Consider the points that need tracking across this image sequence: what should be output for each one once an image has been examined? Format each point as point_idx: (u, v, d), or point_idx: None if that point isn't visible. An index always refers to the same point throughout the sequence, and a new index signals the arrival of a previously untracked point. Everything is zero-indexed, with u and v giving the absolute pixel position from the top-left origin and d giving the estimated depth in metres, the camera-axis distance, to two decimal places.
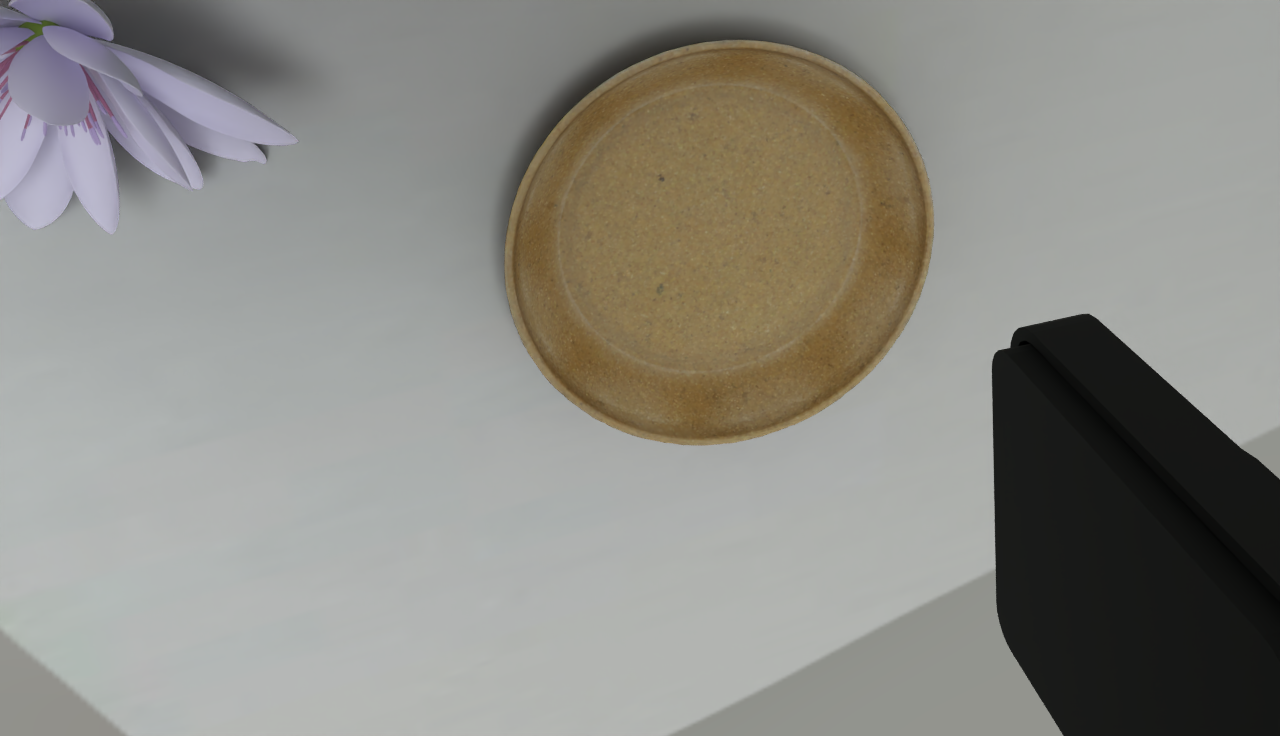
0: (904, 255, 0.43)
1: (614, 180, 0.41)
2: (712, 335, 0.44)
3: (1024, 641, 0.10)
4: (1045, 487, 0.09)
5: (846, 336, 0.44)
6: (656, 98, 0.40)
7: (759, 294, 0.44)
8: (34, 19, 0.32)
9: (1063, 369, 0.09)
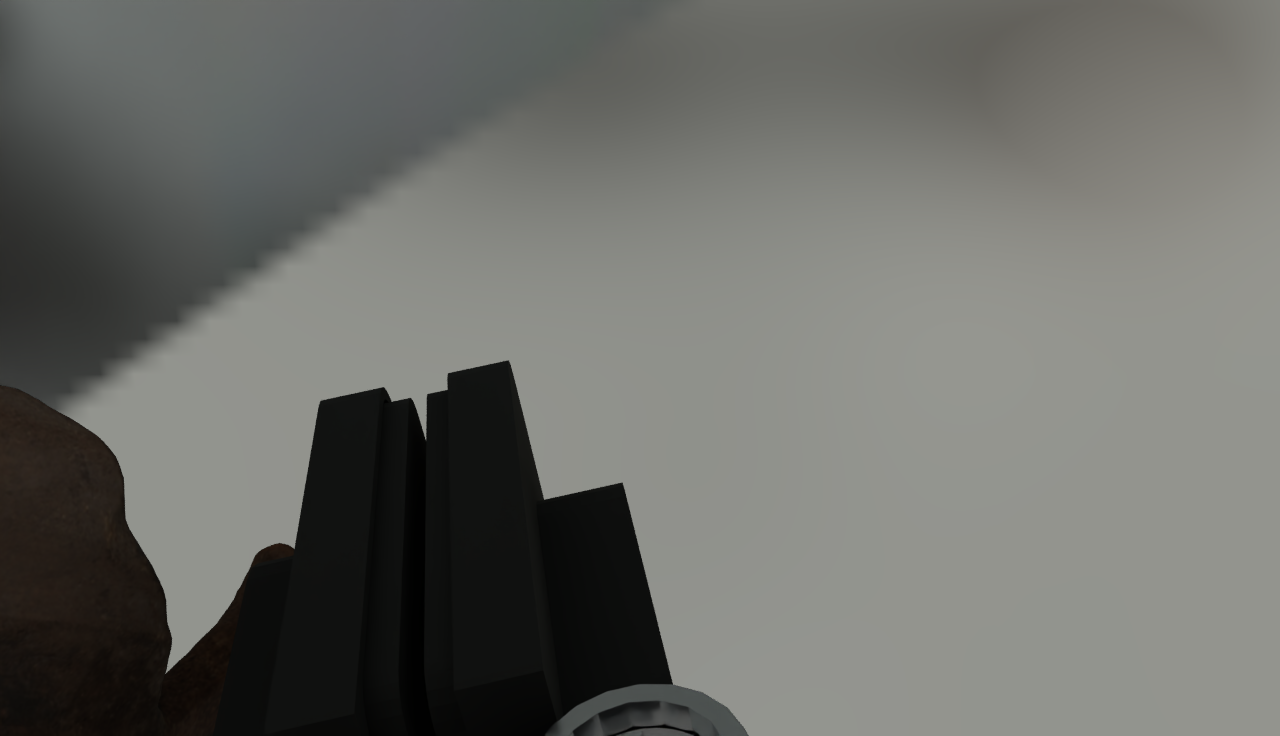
0: None
1: None
2: None
3: None
4: None
5: None
6: None
7: None
8: None
9: None
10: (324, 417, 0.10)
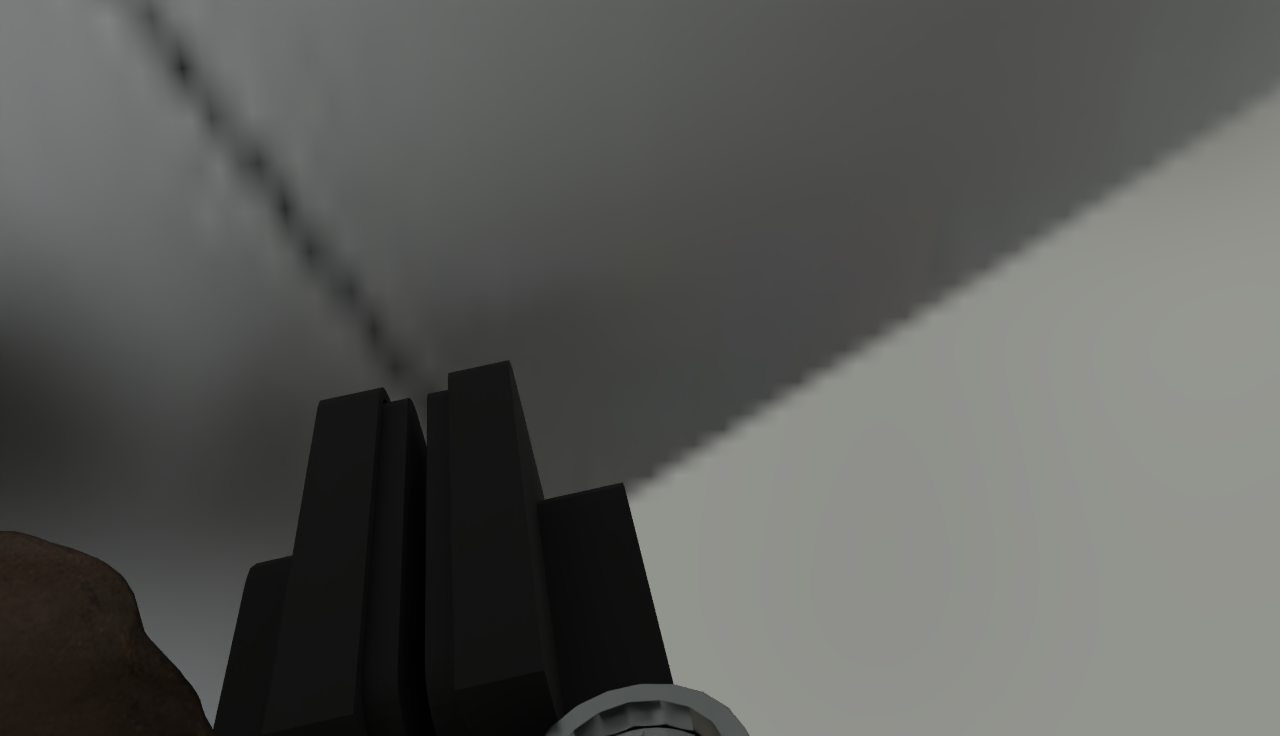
0: None
1: None
2: None
3: None
4: None
5: None
6: None
7: None
8: None
9: None
10: (323, 417, 0.10)
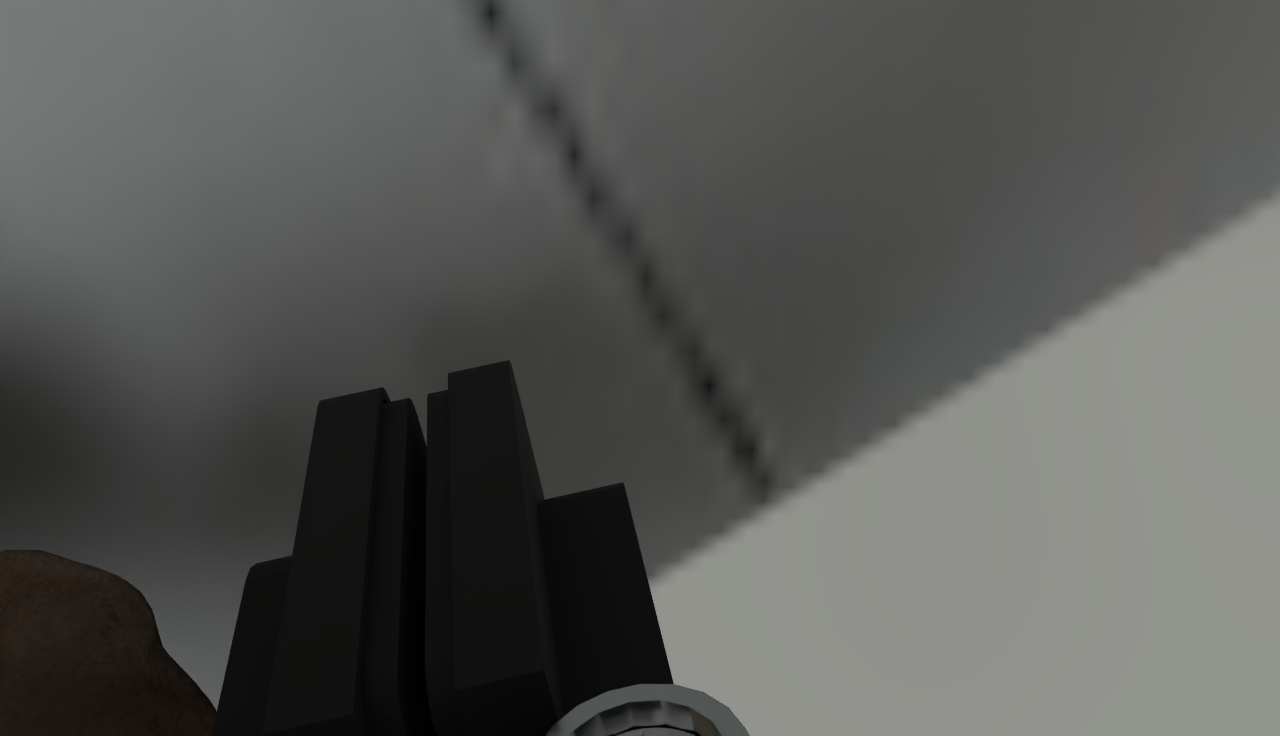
0: None
1: None
2: None
3: None
4: None
5: None
6: None
7: None
8: None
9: None
10: (323, 417, 0.10)
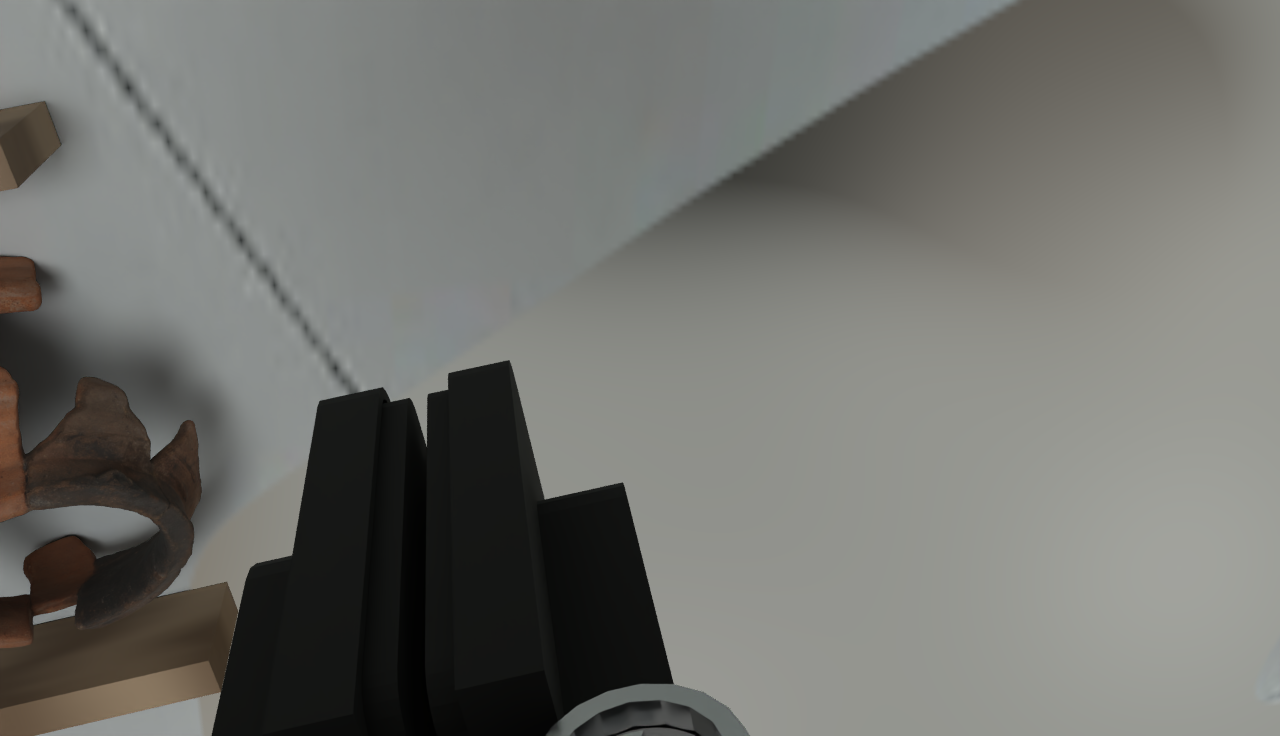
0: None
1: None
2: None
3: None
4: None
5: None
6: None
7: None
8: None
9: None
10: (322, 417, 0.10)
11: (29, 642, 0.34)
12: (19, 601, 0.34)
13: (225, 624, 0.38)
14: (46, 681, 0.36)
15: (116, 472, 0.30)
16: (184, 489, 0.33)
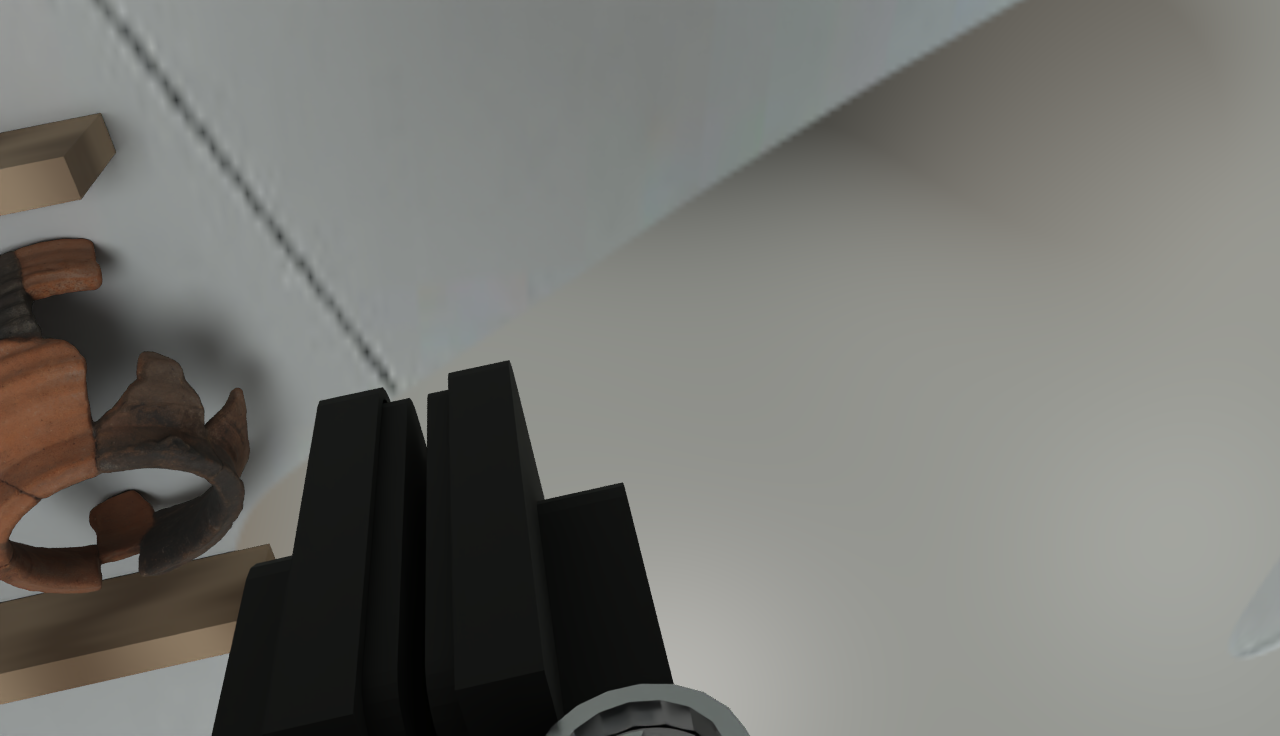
0: None
1: None
2: None
3: None
4: None
5: None
6: None
7: None
8: None
9: None
10: (323, 417, 0.10)
11: (98, 588, 0.37)
12: (88, 551, 0.38)
13: None
14: (109, 633, 0.40)
15: (175, 438, 0.34)
16: (235, 451, 0.37)
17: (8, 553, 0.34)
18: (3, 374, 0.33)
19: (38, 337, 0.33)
